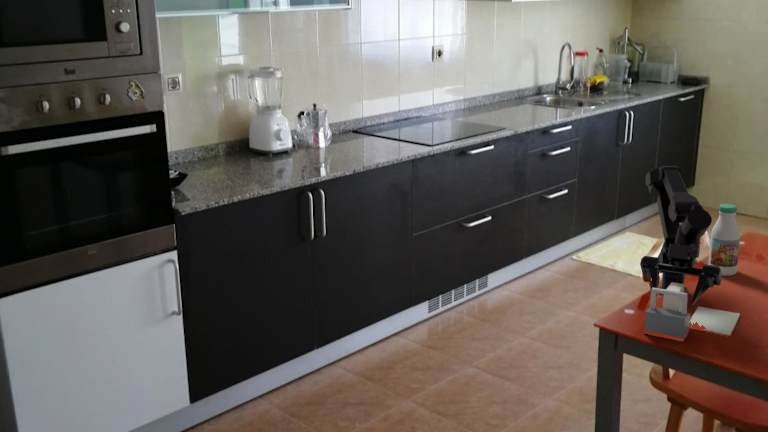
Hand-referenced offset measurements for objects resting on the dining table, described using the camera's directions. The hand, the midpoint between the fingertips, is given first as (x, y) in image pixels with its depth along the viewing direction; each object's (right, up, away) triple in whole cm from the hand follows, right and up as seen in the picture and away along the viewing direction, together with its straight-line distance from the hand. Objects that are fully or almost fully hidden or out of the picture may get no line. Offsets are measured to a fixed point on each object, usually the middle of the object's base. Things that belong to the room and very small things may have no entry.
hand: (673, 301), depth 193 cm
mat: (+11, -6, +3) cm, 13 cm away
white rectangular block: (0, -6, +2) cm, 7 cm away
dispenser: (-2, -8, -2) cm, 8 cm away
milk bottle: (+28, +4, +36) cm, 46 cm away
